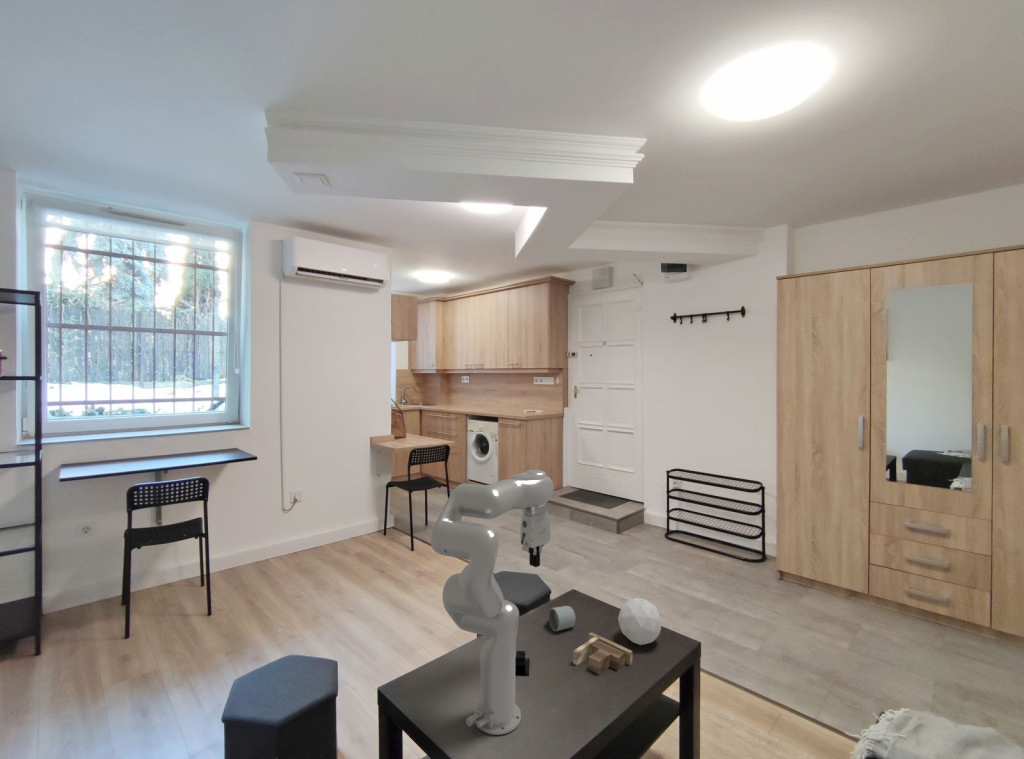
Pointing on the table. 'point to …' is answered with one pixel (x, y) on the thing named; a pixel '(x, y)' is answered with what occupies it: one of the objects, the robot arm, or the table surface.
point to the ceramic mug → (561, 617)
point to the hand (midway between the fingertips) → (534, 565)
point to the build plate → (522, 664)
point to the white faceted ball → (640, 621)
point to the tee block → (605, 658)
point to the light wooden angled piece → (586, 649)
